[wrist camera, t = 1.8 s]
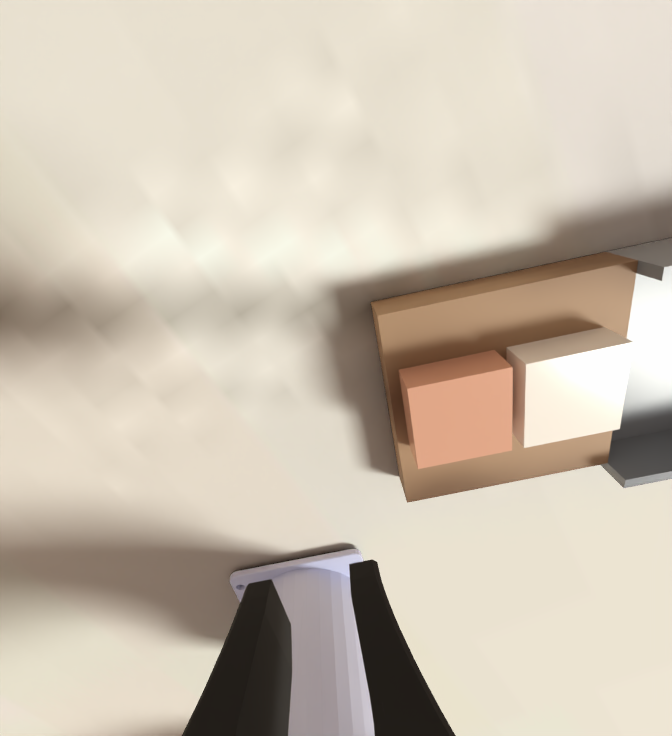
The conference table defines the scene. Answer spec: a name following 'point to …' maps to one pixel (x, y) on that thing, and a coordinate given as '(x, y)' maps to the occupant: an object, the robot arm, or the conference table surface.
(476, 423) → the terracotta tile
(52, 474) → the conference table surface
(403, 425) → the walnut board
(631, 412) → the slate tray
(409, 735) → the robot arm
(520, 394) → the cream tile
